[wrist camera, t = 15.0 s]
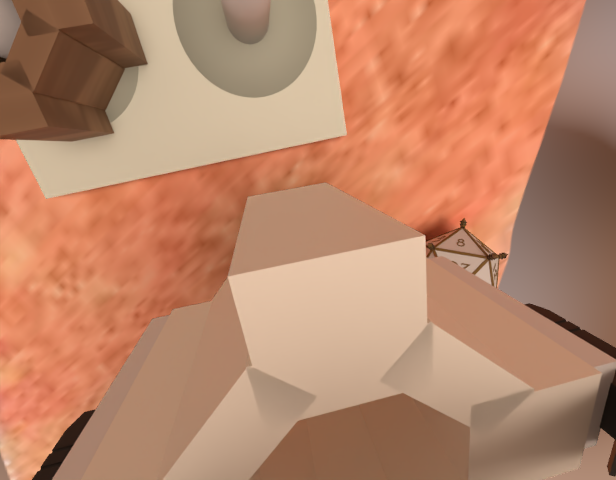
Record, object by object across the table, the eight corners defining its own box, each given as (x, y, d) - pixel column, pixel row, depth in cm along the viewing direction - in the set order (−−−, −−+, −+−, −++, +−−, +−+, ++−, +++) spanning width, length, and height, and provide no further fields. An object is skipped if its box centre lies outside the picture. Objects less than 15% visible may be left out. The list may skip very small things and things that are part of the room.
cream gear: (426, 376, 15) (558, 558, 8) (217, 431, 14) (177, 690, 7) (421, 165, 11) (645, 189, 5) (139, 216, 10) (-79, 340, 4)
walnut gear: (167, 122, 21) (126, 111, 15) (15, 152, 20) (-100, 155, 14) (105, -60, 18) (15, -182, 11) (-82, -34, 17) (-299, -149, 10)
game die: (401, 255, 35) (381, 309, 27) (435, 195, 30) (422, 239, 22) (475, 290, 33) (477, 358, 25) (525, 231, 28) (546, 294, 20)
